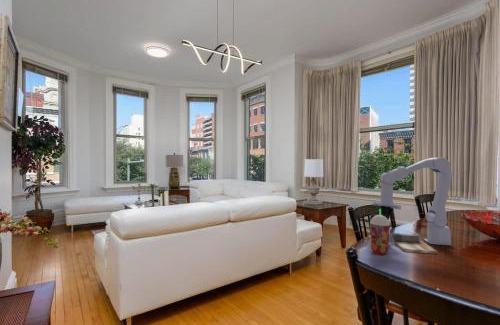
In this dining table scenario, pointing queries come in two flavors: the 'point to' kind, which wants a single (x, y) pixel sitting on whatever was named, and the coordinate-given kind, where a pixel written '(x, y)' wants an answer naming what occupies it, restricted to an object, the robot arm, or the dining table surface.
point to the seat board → (414, 247)
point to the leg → (406, 237)
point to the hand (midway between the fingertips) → (386, 220)
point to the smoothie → (379, 234)
